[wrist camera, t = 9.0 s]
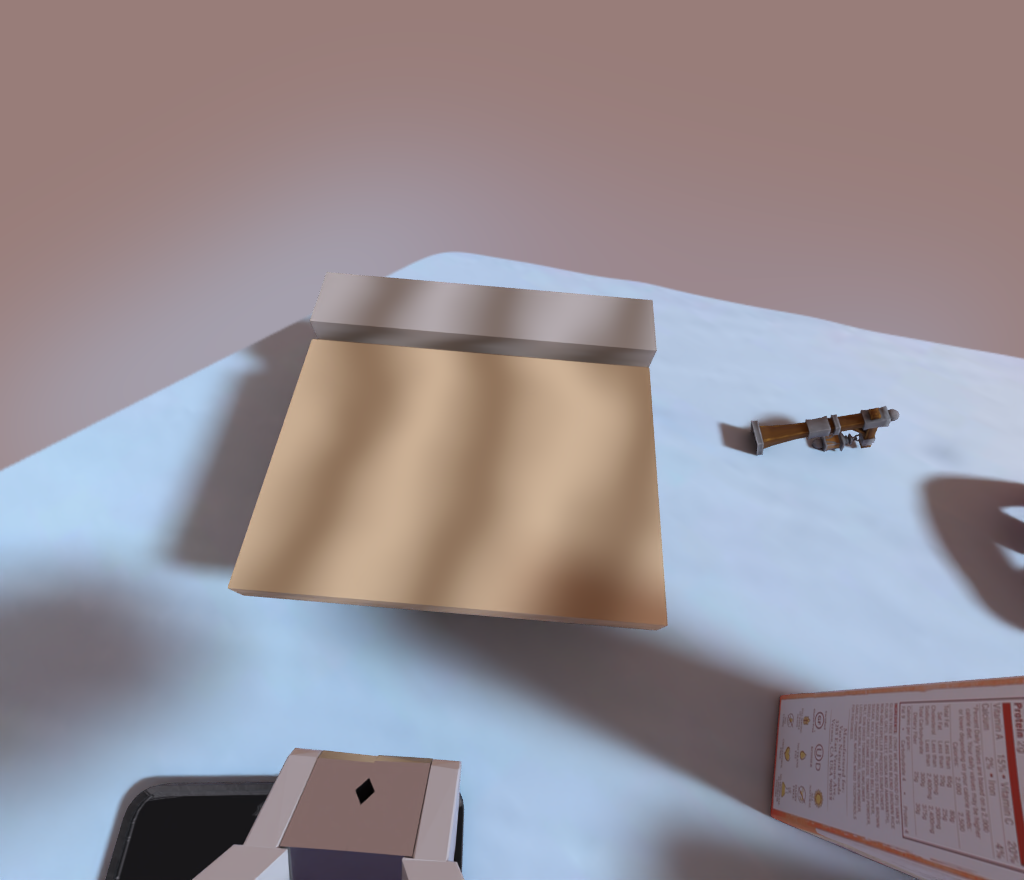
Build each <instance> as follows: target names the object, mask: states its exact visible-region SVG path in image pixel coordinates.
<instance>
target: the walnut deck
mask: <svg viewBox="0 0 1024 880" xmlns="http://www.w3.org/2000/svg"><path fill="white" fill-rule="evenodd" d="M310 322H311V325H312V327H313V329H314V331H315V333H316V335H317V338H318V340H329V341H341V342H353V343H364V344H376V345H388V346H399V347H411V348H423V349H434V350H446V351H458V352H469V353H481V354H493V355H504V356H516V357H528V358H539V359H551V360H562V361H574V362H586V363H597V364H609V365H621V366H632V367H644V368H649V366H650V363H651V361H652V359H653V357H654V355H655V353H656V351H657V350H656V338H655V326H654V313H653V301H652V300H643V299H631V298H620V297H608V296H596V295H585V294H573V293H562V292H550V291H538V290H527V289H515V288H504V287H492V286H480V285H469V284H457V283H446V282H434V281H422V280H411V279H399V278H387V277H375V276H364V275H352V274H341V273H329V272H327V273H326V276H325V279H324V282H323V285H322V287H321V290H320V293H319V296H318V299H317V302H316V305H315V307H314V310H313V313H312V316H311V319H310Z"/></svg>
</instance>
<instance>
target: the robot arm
mask: <svg viewBox="0 0 1024 880" xmlns="http://www.w3.org/2000/svg"><path fill="white" fill-rule="evenodd" d="M460 778H461V761H448V760H436V759H431V758H415V757H399V756H383V755H378V756H370V755H361V754H352V753H342V752H333V751H324V750H312V749H301V748H295V749H294V750H293V751H292V752H291V754H290V755H289V756H288V757H287V759H286V761H285V763H284V765H283V767H282V769H281V771H280V773H279V775H278V777H277V779H276V781H275V783H274V785H273V787H272V789H271V791H270V793H269V795H268V797H267V799H266V801H265V803H264V805H263V806H262V808H261V810H260V812H259V814H258V816H257V818H256V820H255V822H254V824H253V826H252V828H251V830H250V832H249V834H248V836H247V838H246V840H245V842H244V844H243V845H233V846H231V847H230V848H229V849H228V850H227V851H226V852H224V853H223V854H222V855H221V856H220V857H218V858H217V859H216V860H215V861H214V862H212V863H211V864H210V865H209V866H208V867H206V868H205V869H204V870H203V871H202V872H201V873H199V874H198V875H197V876H196V877H195V878H193V879H192V880H464V878H463V875H462V873H461V871H460V868H459V866H458V863H457V862H453V861H454V853H455V845H456V833H457V821H458V809H459V793H460Z"/></svg>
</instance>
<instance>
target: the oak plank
mask: <svg viewBox="0 0 1024 880" xmlns="http://www.w3.org/2000/svg"><path fill="white" fill-rule="evenodd" d="M228 589H231V590H233V591H235V592H237V593H239V594H242V595H245V596H257V597H268V598H280V599H292V600H304V601H316V602H327V603H339V604H351V605H363V606H375V607H386V608H398V609H410V610H422V611H434V612H445V613H457V614H469V615H481V616H493V617H505V618H516V619H528V620H540V621H552V622H564V623H575V624H587V625H599V626H611V627H623V628H634V629H646V630H658V629H661V628H663V627H665V626H667V611H666V597H665V583H664V569H663V555H662V540H661V526H660V512H659V498H658V484H657V470H656V455H655V441H654V427H653V413H652V399H651V385H650V371H649V368H644V367H632V366H621V365H609V364H597V363H586V362H574V361H562V360H551V359H539V358H528V357H516V356H504V355H493V354H481V353H469V352H458V351H446V350H434V349H423V348H411V347H399V346H388V345H376V344H364V343H353V342H341V341H329V340H318V339H312V341H311V343H310V346H309V349H308V352H307V355H306V358H305V361H304V364H303V367H302V370H301V373H300V376H299V379H298V382H297V385H296V388H295V391H294V394H293V397H292V399H291V402H290V405H289V408H288V411H287V414H286V417H285V420H284V423H283V426H282V429H281V432H280V435H279V438H278V441H277V444H276V447H275V450H274V453H273V455H272V458H271V461H270V464H269V467H268V470H267V473H266V476H265V479H264V482H263V485H262V488H261V491H260V494H259V497H258V500H257V503H256V506H255V509H254V511H253V514H252V517H251V520H250V523H249V526H248V529H247V532H246V535H245V538H244V541H243V544H242V547H241V550H240V553H239V556H238V559H237V562H236V565H235V567H234V570H233V573H232V576H231V579H230V582H229V585H228Z"/></svg>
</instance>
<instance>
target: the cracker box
mask: <svg viewBox="0 0 1024 880" xmlns="http://www.w3.org/2000/svg"><path fill="white" fill-rule="evenodd" d="M770 815H771V816H772V817H773V818H774V819H776V820H779V821H781V822H783V823H786V824H788V825H791V826H793V827H795V828H798V829H800V830H803V831H805V832H807V833H810V834H812V835H814V836H817V837H819V838H821V839H824V840H826V841H828V842H831V843H833V844H836V845H838V846H840V847H843V848H845V849H847V850H850V851H852V852H854V853H857V854H859V855H861V856H864V857H866V858H869V859H871V860H873V861H876V862H878V863H881V864H883V865H886V866H888V867H890V868H893V869H895V870H898V871H900V872H902V873H905V874H907V875H910V876H912V877H915V878H917V879H919V880H1024V676H1014V677H1002V678H990V679H977V680H965V681H952V682H939V683H927V684H914V685H902V686H889V687H877V688H864V689H852V690H840V691H828V692H817V693H802V694H789V695H782V696H781V697H780V705H779V716H778V728H777V740H776V751H775V765H774V778H773V789H772V803H771V813H770Z"/></svg>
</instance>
